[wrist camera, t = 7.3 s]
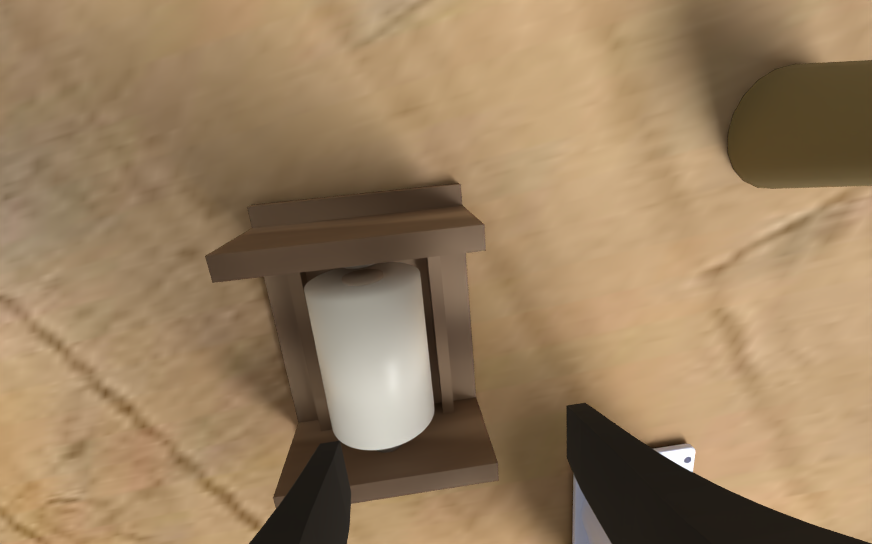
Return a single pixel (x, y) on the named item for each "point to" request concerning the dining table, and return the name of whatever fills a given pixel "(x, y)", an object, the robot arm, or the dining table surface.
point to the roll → (372, 353)
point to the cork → (805, 127)
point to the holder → (444, 317)
